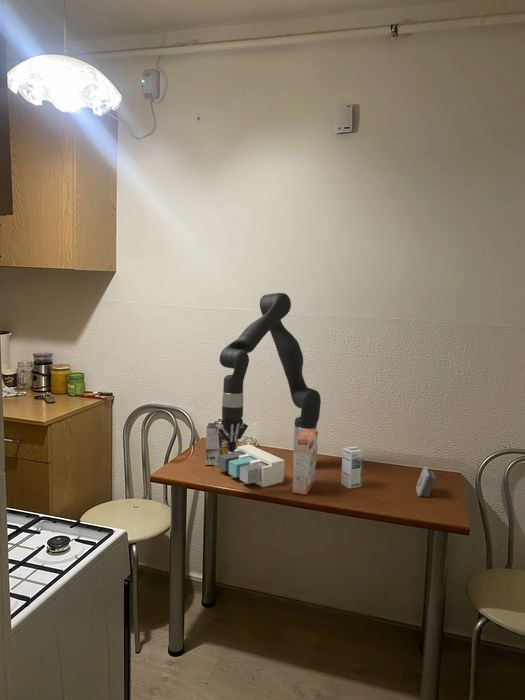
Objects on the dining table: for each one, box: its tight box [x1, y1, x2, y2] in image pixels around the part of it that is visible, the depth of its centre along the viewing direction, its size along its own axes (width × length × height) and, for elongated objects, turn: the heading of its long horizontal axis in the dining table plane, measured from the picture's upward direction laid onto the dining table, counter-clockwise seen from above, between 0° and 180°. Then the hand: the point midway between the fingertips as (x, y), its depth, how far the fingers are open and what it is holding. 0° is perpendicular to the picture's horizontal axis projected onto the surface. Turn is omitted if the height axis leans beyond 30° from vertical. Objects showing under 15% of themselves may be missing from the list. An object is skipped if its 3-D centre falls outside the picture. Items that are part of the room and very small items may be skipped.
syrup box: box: [340, 446, 364, 489], centre depth 197 cm, size 6×6×14 cm
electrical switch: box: [415, 466, 437, 498], centre depth 192 cm, size 9×5×9 cm, turn 169°
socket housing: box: [228, 444, 285, 488], centre depth 204 cm, size 10×23×9 cm, turn 37°
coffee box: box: [205, 422, 224, 465], centre depth 216 cm, size 9×6×16 cm
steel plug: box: [239, 462, 268, 485], centre depth 194 cm, size 10×5×5 cm, turn 127°
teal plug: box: [228, 457, 256, 478], centre depth 200 cm, size 10×5×5 cm, turn 127°
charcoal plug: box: [217, 452, 245, 472], centre depth 206 cm, size 10×5×5 cm, turn 127°
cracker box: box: [291, 429, 319, 496], centre depth 192 cm, size 14×6×21 cm, turn 163°
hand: (231, 451), depth 186 cm, fingers closed
